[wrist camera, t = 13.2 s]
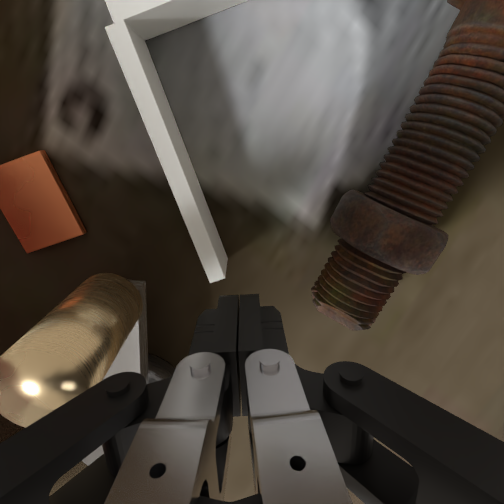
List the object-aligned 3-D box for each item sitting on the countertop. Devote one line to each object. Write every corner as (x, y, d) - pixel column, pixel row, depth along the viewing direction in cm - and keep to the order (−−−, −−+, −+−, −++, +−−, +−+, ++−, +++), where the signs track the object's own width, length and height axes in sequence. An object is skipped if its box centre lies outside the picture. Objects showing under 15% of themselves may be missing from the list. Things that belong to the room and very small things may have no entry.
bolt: (309, 274, 19) (464, -16, 14) (391, 322, 17) (598, 13, 13) (269, 300, 14) (490, -140, 9) (379, 372, 12) (725, -120, 7)
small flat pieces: (197, 409, 20) (192, 435, 18) (120, 431, 20) (109, 458, 18) (64, 142, 15) (41, 143, 13) (-34, 179, 15) (-70, 184, 13)
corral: (635, 127, 15) (709, 124, 13) (214, 262, 17) (209, 283, 14) (652, -182, 12) (759, -266, 9) (121, 27, 13) (94, 3, 11)
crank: (171, 453, 18) (134, 611, 12) (88, 449, 18) (9, 609, 12) (171, 264, 14) (119, 355, 8) (68, 257, 14) (-63, 345, 8)
